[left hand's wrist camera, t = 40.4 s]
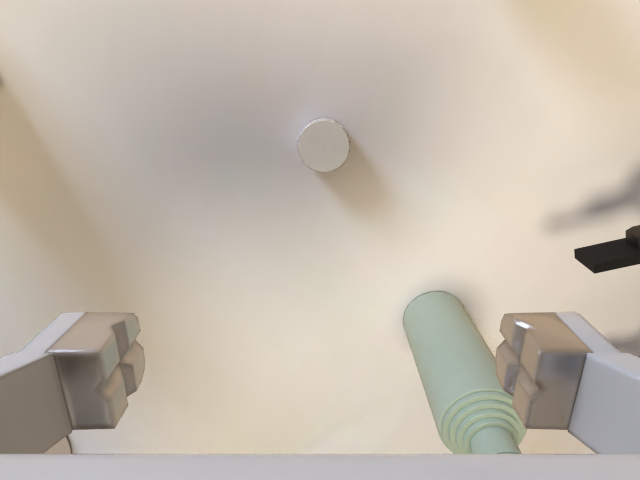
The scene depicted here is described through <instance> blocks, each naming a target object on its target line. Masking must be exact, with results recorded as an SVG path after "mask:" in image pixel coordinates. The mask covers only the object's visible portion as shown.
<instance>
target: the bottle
mask: <svg viewBox="0 0 640 480" xmlns="http://www.w3.org/2000/svg"><path fill="white" fill-rule="evenodd" d="M403 325H404V329H405V332H406V335H407V338H408V341H409V344H410V347H411V351H412V354H413V357H414V360H415V363H416V366H417V369H418V372H419V375H420V378H421V381H422V384H423V387H424V390H425V393H426V396H427V399H428V402H429V405H430V408H431V411H432V415H433V418H434V421H435V424H436V427H437V430H438V433H439V436H440V438H441V440H442V442H443V443H444V444H445V446H446V447H447V448H448V449H450V451H452V452H453V453H454V454H522V453H521V451H520V449H519V447H518V445H519V444H520V442H521V441H522V440H523V438H524V436H525V434H526V431H527V429H525V427H524V425H523V424H522V422H521V420H520V418H519V417H518V415H517V413H516V412H515V410H514V408H513V406H512V402H513V396H511V395H510V394H508V393H506V392H505V391H503V389H502V387H501V385H500V383H499V381H498V378H497V374H496V366H495V357H494V355H493V354H492V352H491V350H490V349H489V347H488V345H487V344H486V342H485V341H484V339H483V337H482V336H481V334H480V332H479V331H478V329H477V327H476V326H475V324H474V322H473V321H472V319H471V318H470V316H469V314H468V313H467V311H466V309H465V308H464V306H463V304H462V303H461V302H460V301H459V300H458V299H457V298H456V297H455V296H453V295H451V294H449V293H445V292H429V293H425V294H423V295H421V296H419V297H417V298H416V299H414V300H413V301H412V302H411V303H410V304H409V306H408V307H407V309H406V311H405V313H404V317H403Z"/></svg>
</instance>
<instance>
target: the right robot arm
mask: <svg viewBox="0 0 640 480" xmlns="http://www.w3.org/2000/svg"><path fill="white" fill-rule="evenodd" d="M574 250H575V258H576V259H577V260H578V261H579V262H581V263H582V264H583V265H584V266H586V267H587V268H588V269H590V270H591V271H592V272H593V273H599V272H604V271H608V270H613V269H618V268H622V267H627V266H632V265H636V264H640V225H638V226H634V227H631V228H630V229H628V230H626V238H623V239H619V240H614V241H610V242H605V243H601V244H596V245H592V246H587V247H582V248H578V249H574Z"/></svg>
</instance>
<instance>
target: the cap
mask: <svg viewBox="0 0 640 480" xmlns="http://www.w3.org/2000/svg"><path fill="white" fill-rule="evenodd" d="M347 135H348V134H347V132H345V130H344V128H343V127H342V125H340V124H339V123H337V122H336V121H335V120H332V119H327V118H320V119H319V118H318V119H316V120H313V121H312V122H311V121H310V123H309V124H307V125H306V126H305V127H304V128H303V131H302V133H301V134H300V136H299V138H300V139H299V142H298V150H299V154H300V157H301V159H302V161H303V162H304V163H305V164H306V165H307V166H308V167H309V168H311V169H312V170H315V171H318V172H330V171H333V170H335V169H337V168H339V167H340V166H341V165H342V164H343V163H344V162H345V160H346V158H347V156H348V153H349V143H350V141H349V139H348V136H347Z"/></svg>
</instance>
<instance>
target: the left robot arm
mask: <svg viewBox="0 0 640 480" xmlns="http://www.w3.org/2000/svg"><path fill="white" fill-rule="evenodd" d="M139 332H140V326H139V321H138V317H137V316H136V315H135V314H134V313H102V312H89V313H88V312H66V313H61V314H60V315H59V316H58V317H57V318H56V319H55V320H54V321H53V322H51V323H50V324H49V325H48V326H47V327H46V328H45V329H44V330H43V331H42V332H41V333H40V334H39V335H37V336H36V337H35V338H34V339H33V340H32V341H31V342H30V343H29V344H28V345H27V346H26V347H25V348H23V349H22V350H21V351H20V352H19V353H10V354H7V355H5V356H3V357H0V480H640V357H637V356H635V355H633V354H630V353H621V352H620V351H619V350H618V349H617V348H616V347H614V346H613V345H612V344H611V343H610V342H609V341H608V340H607V339H606V338H605V337H604V336H603V335H602V334H600V333H599V332H598V331H597V330H596V329H595V328H594V327H593V326H592V325H591V324H590V323H589V322H588V321H587V320H585V319H584V318H583V317H582V316H581V315H580V314H579V313H575V312H546V313H509V314H504V316H503V318H502V320H501V325H500V332H501V334H502V335H503V337H504V338H505V340H504V341H503V342H502V343H501V344H500V345H499V346H498V347H497V350H496V357H495V366H496V374H497V378H498V381H499V383H500V385H501V387H502V389H503V391H505V392H506V393H508V394H510V395H511V396H513V402H512V406H513V408H514V410H515V412H516V413H517V415H518V417H519V418H520V420H521V422H522V424H523V425H524V427H525V429H560V430H568V432H569V433H570V434H572V435H573V436H574V437H576V438H577V439H578V440H579V441H581V442H582V443H583V444H585V445H586V446H587V447H589V448H590V449H591V450H593V451H594V452H595V453H597V454H71V449H70V445H69V442H68V440H67V438H66V436H67V435H69V434H70V433H71V432H72V430H79V429H115V427H116V425H117V424H118V422H119V420H120V418H121V417H122V415H123V413H124V412H125V410H126V408H127V406H128V402H127V396H129V395H130V394H132V393H134V392H135V391H137V389H138V387H139V385H140V383H141V381H142V377H143V373H144V369H145V356H144V349H143V347H142V346H141V345H140V344H139V343H138V342H137V341H136V340H135V338H136V337H137V335H138V334H139Z"/></svg>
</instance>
